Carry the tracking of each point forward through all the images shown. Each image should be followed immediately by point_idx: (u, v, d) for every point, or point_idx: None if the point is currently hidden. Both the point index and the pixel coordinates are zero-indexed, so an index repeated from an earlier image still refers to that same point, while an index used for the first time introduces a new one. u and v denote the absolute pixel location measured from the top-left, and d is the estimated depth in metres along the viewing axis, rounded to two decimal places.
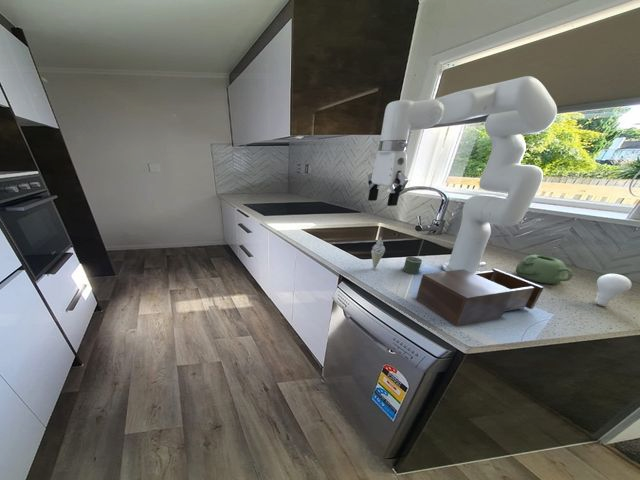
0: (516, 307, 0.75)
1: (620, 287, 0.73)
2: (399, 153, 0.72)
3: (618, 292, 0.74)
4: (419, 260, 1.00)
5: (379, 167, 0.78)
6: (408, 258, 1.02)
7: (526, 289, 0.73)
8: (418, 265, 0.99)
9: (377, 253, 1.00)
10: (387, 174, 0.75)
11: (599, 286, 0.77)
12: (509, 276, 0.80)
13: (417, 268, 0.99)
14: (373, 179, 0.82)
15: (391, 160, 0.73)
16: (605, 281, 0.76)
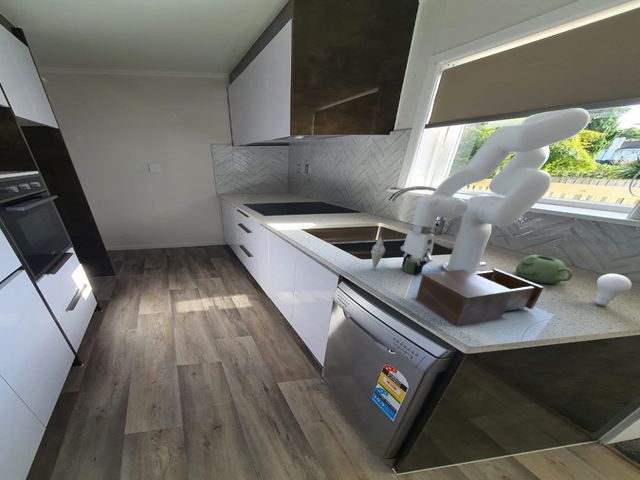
0: (516, 307, 0.75)
1: (620, 287, 0.73)
2: (428, 236, 0.92)
3: (618, 292, 0.74)
4: None
5: (411, 242, 0.98)
6: (408, 258, 1.02)
7: (526, 289, 0.73)
8: None
9: (377, 253, 1.00)
10: (418, 250, 0.96)
11: (599, 286, 0.77)
12: (509, 276, 0.80)
13: None
14: (405, 249, 1.02)
15: (422, 240, 0.94)
16: (605, 281, 0.76)
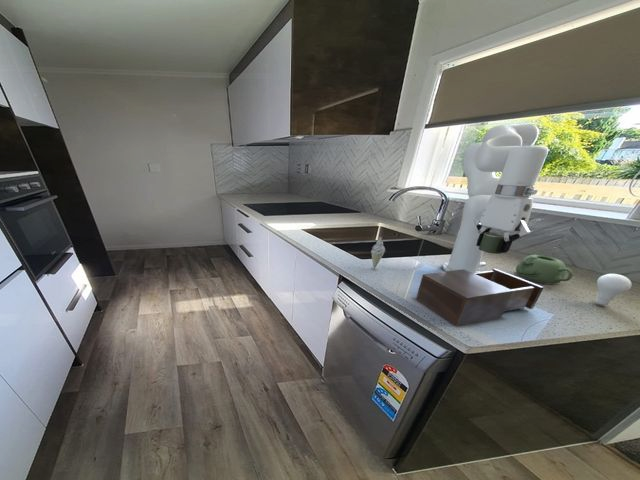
0: (516, 307, 0.75)
1: (620, 287, 0.73)
2: (526, 199, 0.68)
3: (618, 292, 0.74)
4: None
5: (495, 210, 0.74)
6: (488, 233, 0.77)
7: (526, 289, 0.73)
8: None
9: (377, 253, 1.00)
10: (508, 219, 0.71)
11: (599, 286, 0.77)
12: (509, 276, 0.80)
13: None
14: (483, 221, 0.78)
15: (515, 206, 0.69)
16: (605, 281, 0.76)
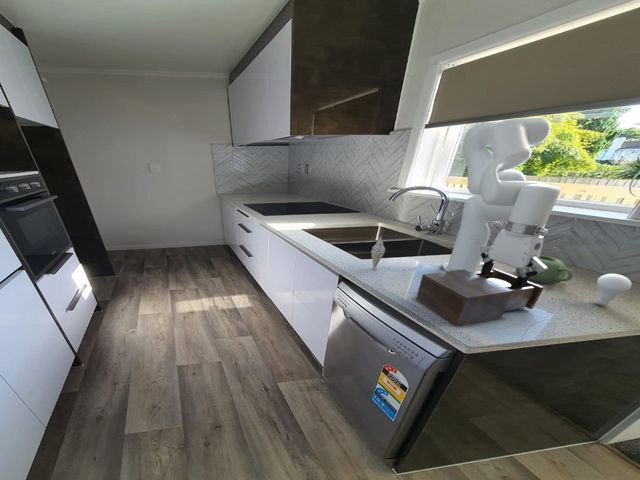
0: (516, 307, 0.75)
1: (620, 287, 0.73)
2: (537, 238, 0.68)
3: (618, 292, 0.74)
4: (507, 284, 0.77)
5: (505, 246, 0.74)
6: None
7: (526, 289, 0.73)
8: None
9: (377, 253, 1.00)
10: (518, 257, 0.71)
11: (599, 286, 0.77)
12: (509, 276, 0.80)
13: None
14: (492, 255, 0.77)
15: (526, 244, 0.69)
16: (605, 281, 0.76)
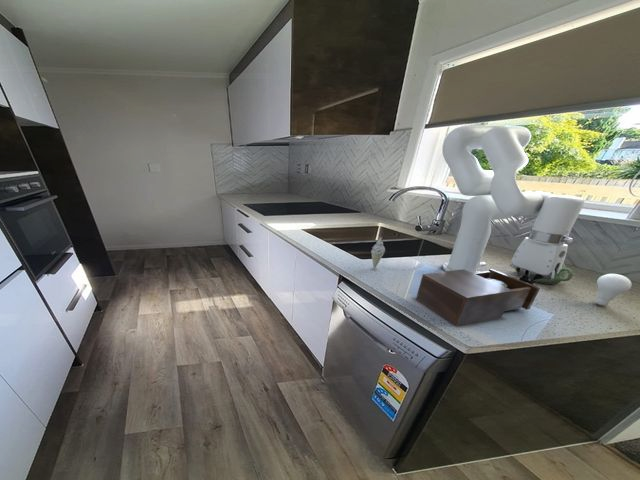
0: (512, 308, 0.75)
1: (620, 287, 0.73)
2: (562, 247, 0.71)
3: (618, 292, 0.74)
4: (503, 284, 0.77)
5: (529, 254, 0.77)
6: None
7: (522, 290, 0.72)
8: None
9: (377, 253, 1.00)
10: (543, 264, 0.74)
11: (599, 286, 0.77)
12: (506, 276, 0.80)
13: None
14: (516, 262, 0.81)
15: (551, 252, 0.72)
16: (605, 281, 0.76)
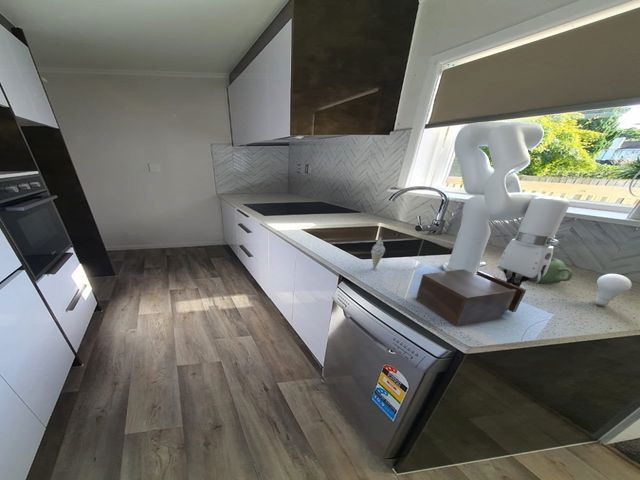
0: None
1: (620, 287, 0.73)
2: (547, 249, 0.70)
3: (618, 292, 0.74)
4: None
5: (515, 255, 0.76)
6: None
7: None
8: None
9: (377, 253, 1.00)
10: (529, 266, 0.73)
11: (599, 286, 0.77)
12: (492, 278, 0.79)
13: None
14: (503, 264, 0.80)
15: (537, 254, 0.71)
16: (605, 281, 0.76)
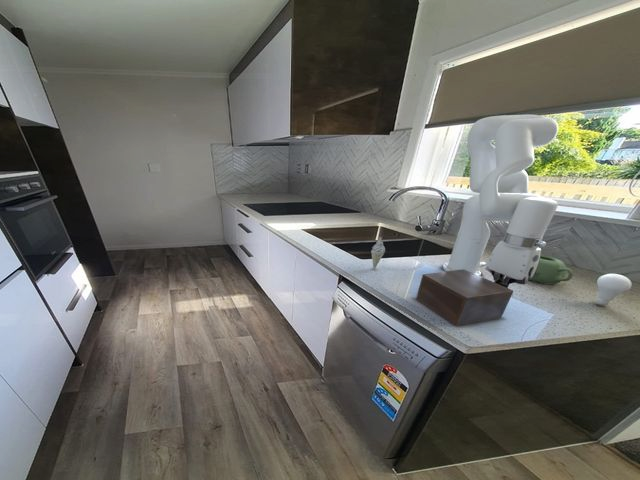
0: None
1: (620, 287, 0.73)
2: (535, 251, 0.69)
3: (618, 292, 0.74)
4: None
5: (503, 257, 0.75)
6: None
7: None
8: None
9: (377, 253, 1.00)
10: (516, 268, 0.72)
11: (599, 286, 0.77)
12: None
13: None
14: (490, 265, 0.79)
15: (525, 256, 0.70)
16: (605, 281, 0.76)
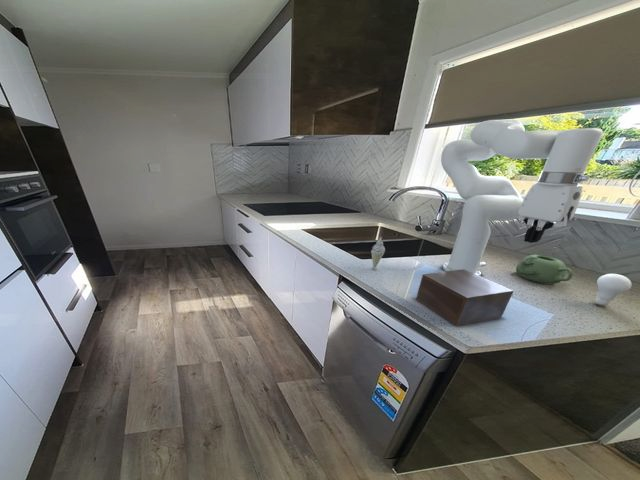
0: None
1: (620, 287, 0.73)
2: (576, 187, 0.63)
3: (618, 292, 0.74)
4: None
5: (538, 200, 0.69)
6: None
7: None
8: None
9: (377, 253, 1.00)
10: (554, 209, 0.67)
11: (599, 286, 0.77)
12: None
13: None
14: (523, 211, 0.73)
15: (564, 194, 0.65)
16: (605, 281, 0.76)
